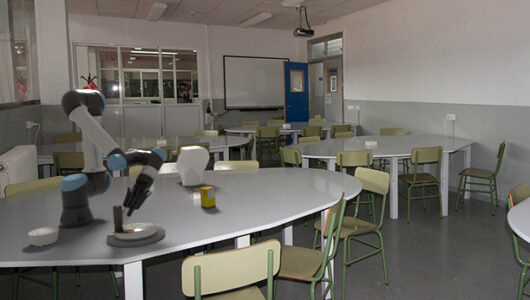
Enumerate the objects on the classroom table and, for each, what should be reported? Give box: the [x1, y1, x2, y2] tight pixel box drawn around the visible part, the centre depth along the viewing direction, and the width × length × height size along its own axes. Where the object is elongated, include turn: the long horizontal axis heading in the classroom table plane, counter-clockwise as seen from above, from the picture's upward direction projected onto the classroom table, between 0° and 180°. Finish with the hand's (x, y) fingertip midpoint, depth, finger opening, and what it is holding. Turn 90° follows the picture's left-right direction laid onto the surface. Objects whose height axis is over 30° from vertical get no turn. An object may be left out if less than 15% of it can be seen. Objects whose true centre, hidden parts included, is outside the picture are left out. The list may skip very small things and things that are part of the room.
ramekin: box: [27, 226, 60, 247], centre depth 165 cm, size 11×11×5 cm
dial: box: [112, 204, 159, 241], centre depth 168 cm, size 18×18×13 cm
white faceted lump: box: [174, 145, 211, 187], centre depth 278 cm, size 21×27×26 cm
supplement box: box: [199, 185, 217, 210], centre depth 214 cm, size 6×6×11 cm
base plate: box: [106, 226, 166, 249], centre depth 169 cm, size 24×24×2 cm
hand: (122, 222), depth 169 cm, fingers closed
